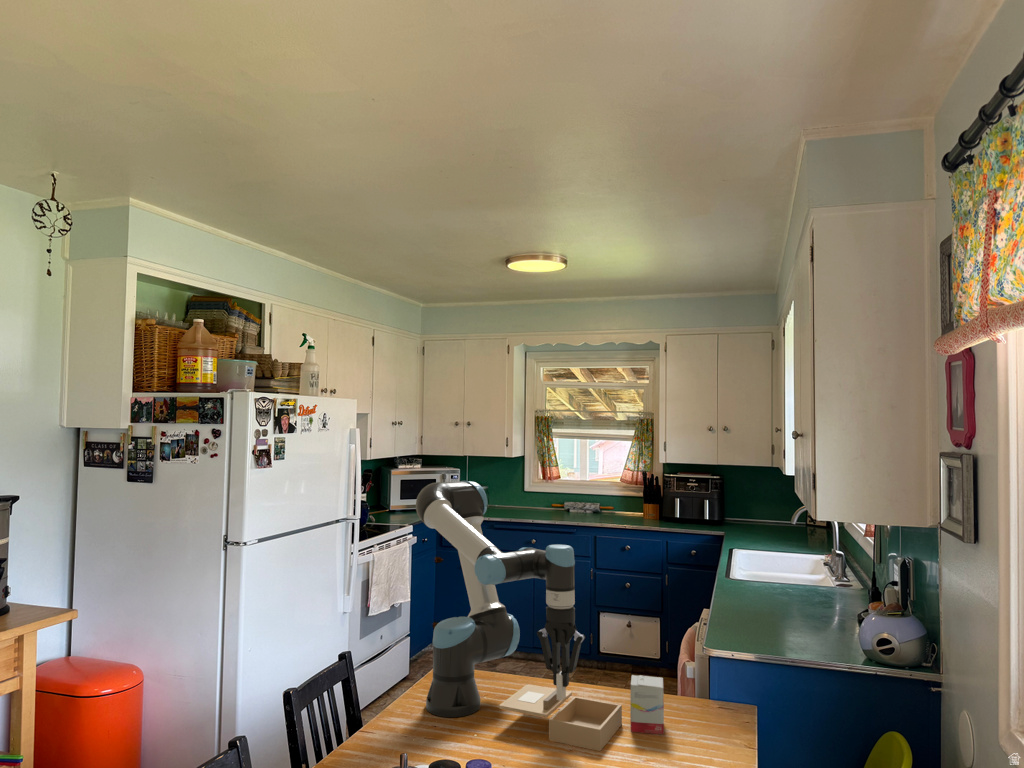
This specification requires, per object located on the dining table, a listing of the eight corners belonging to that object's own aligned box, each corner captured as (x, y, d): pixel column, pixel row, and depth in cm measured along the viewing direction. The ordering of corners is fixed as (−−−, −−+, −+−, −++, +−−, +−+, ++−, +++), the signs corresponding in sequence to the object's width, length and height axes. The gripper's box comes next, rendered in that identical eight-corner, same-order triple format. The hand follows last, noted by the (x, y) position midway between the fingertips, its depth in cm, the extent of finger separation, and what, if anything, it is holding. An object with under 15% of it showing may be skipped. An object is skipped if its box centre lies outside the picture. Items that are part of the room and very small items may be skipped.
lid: (499, 708, 179) (499, 696, 180) (527, 686, 195) (527, 675, 195) (546, 717, 173) (546, 705, 174) (572, 694, 189) (571, 683, 189)
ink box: (664, 735, 176) (663, 687, 177) (630, 732, 178) (629, 684, 179) (663, 721, 185) (663, 675, 186) (631, 718, 186) (630, 673, 187)
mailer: (548, 740, 173) (548, 719, 173) (574, 715, 188) (574, 696, 189) (600, 751, 167) (600, 729, 167) (621, 724, 182) (621, 704, 183)
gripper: (531, 606, 182) (532, 699, 180) (578, 611, 176) (579, 707, 174) (543, 600, 188) (544, 690, 186) (588, 605, 182) (589, 698, 180)
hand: (561, 698), depth 180 cm, fingers closed
